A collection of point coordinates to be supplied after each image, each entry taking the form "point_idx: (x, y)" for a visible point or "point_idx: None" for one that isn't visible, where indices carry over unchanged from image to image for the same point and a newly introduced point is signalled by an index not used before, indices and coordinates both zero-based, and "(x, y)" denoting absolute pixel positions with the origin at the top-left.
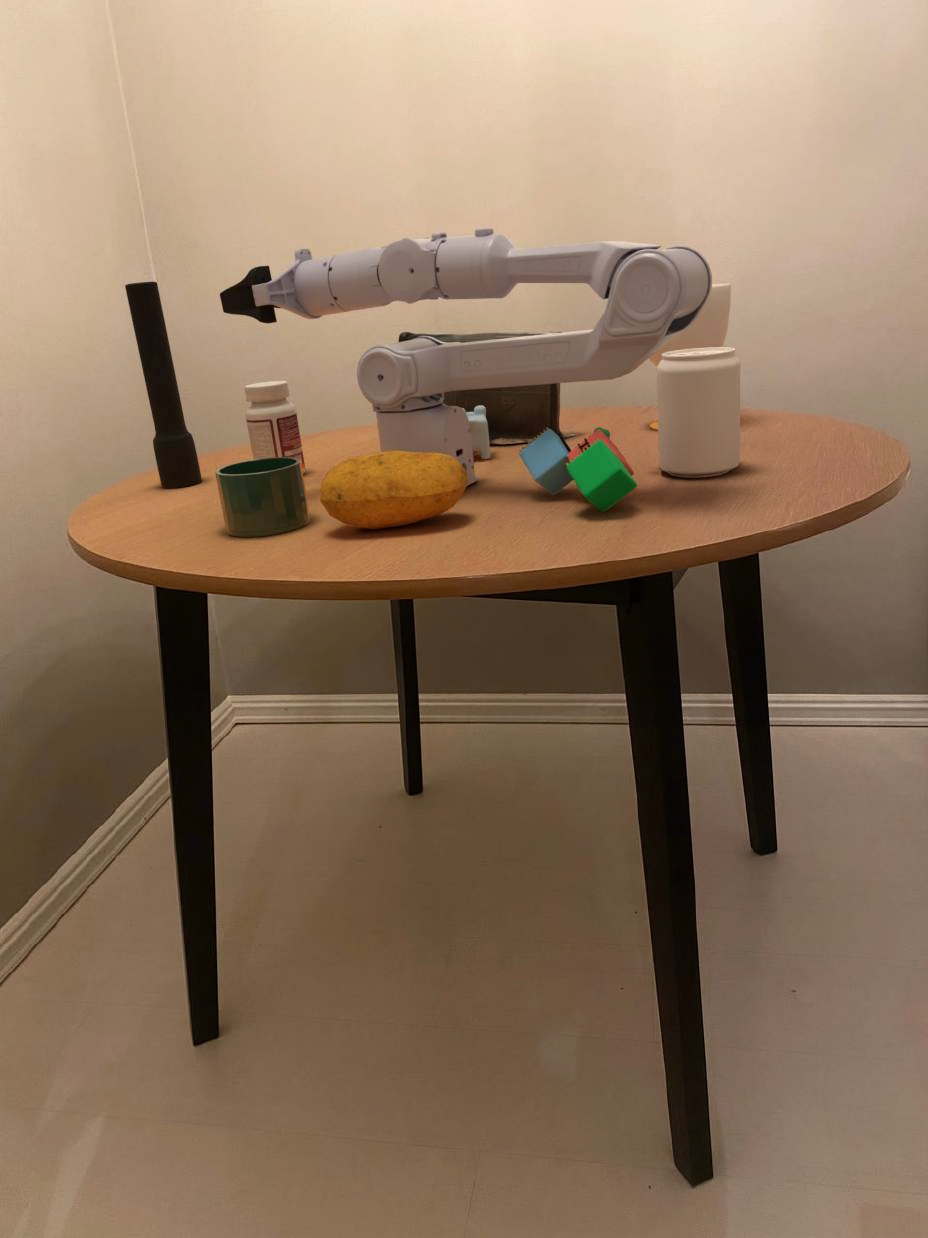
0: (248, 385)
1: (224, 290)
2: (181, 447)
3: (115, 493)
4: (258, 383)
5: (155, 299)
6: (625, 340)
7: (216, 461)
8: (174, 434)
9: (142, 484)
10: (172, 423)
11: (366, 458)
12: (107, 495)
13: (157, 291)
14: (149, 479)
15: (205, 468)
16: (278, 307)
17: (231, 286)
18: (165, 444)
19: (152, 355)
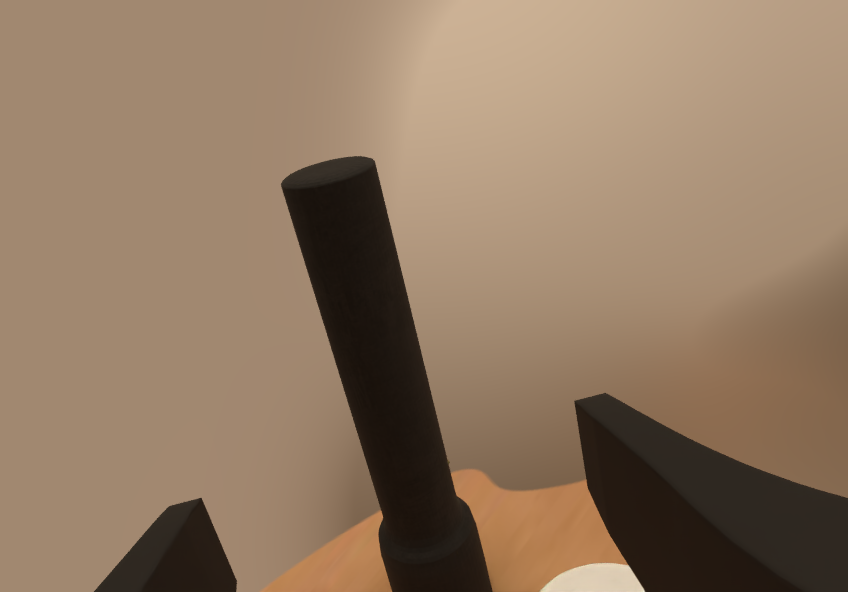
0: (559, 585)
1: (146, 531)
2: (414, 581)
3: (344, 549)
4: (609, 577)
5: (342, 231)
6: None
7: None
8: (404, 546)
9: None
10: (400, 523)
11: None
12: (327, 551)
13: (354, 204)
14: None
15: (579, 508)
16: (615, 541)
17: (109, 576)
18: (385, 556)
19: (344, 372)
